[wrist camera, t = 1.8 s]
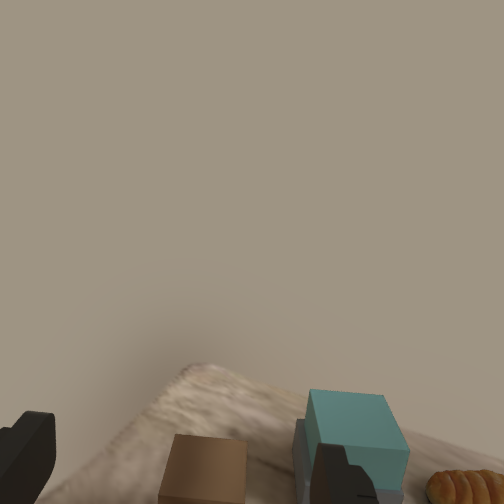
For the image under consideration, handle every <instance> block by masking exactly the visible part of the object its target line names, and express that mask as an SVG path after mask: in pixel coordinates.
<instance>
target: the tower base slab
mask: <svg viewBox="0 0 504 504" xmlns="http://www.w3.org/2000/svg"><path fill="white" fill-rule="evenodd" d="M304 422H305V419H297V422H296V428H295V434H294V441H293V447H292V453H293V463H294V473H295V483H296V493H297V504H310V500H309V493H310V482H311V476H312V466H311V461H310V455H309V449H308V444H307V438H306V432H305V426H304ZM375 491H376V494H377V500H378V501H379V504H402V501H403V497H404V493H403V491H402V488H400V491H399V490H387V489H375Z"/></svg>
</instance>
